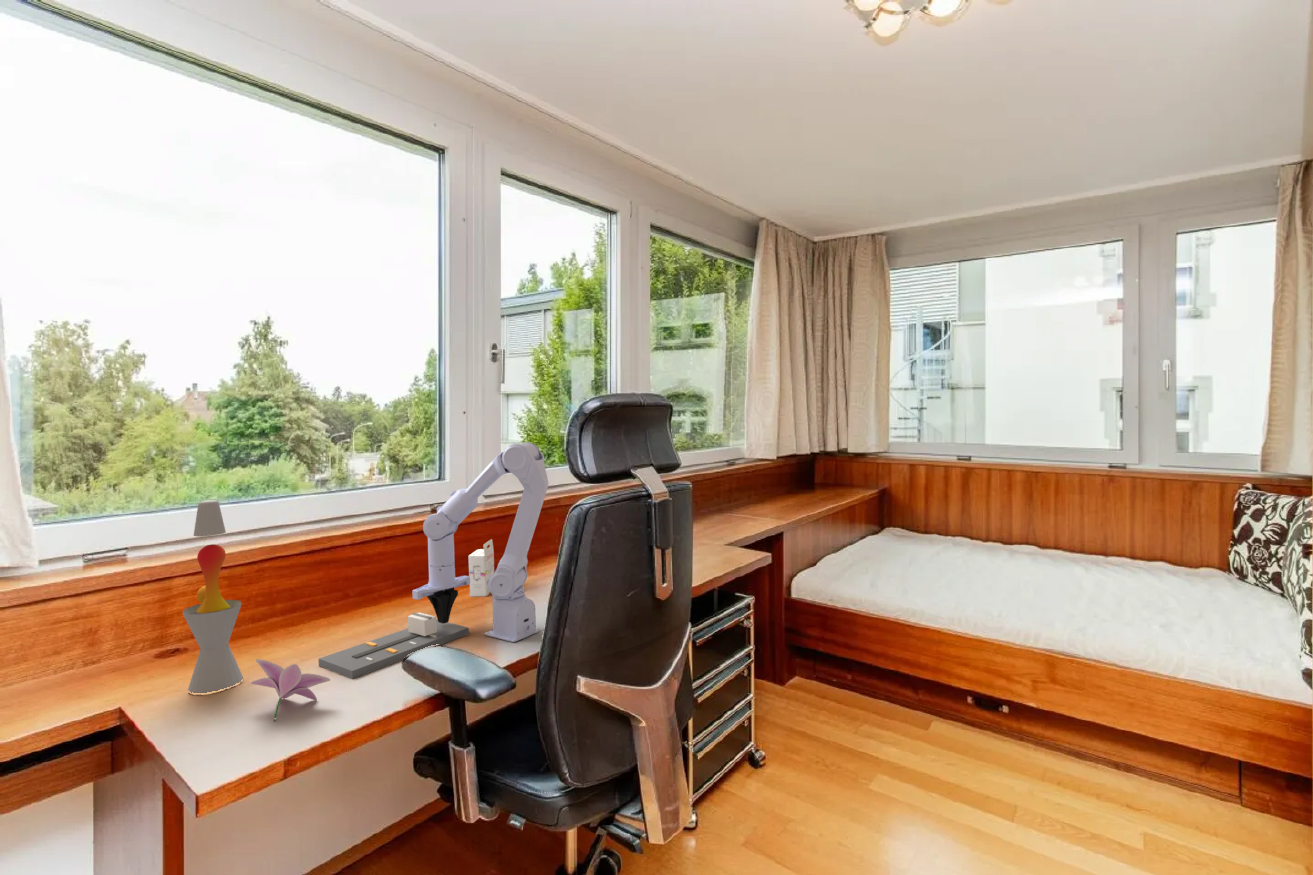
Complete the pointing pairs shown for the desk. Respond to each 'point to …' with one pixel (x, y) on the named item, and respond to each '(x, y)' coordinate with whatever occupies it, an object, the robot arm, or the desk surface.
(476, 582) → the ink cartridge box
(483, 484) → the robot arm
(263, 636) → the desk surface
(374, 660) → the board
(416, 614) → the fader tab
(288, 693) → the lily
